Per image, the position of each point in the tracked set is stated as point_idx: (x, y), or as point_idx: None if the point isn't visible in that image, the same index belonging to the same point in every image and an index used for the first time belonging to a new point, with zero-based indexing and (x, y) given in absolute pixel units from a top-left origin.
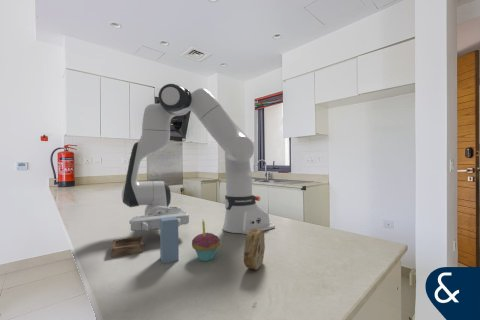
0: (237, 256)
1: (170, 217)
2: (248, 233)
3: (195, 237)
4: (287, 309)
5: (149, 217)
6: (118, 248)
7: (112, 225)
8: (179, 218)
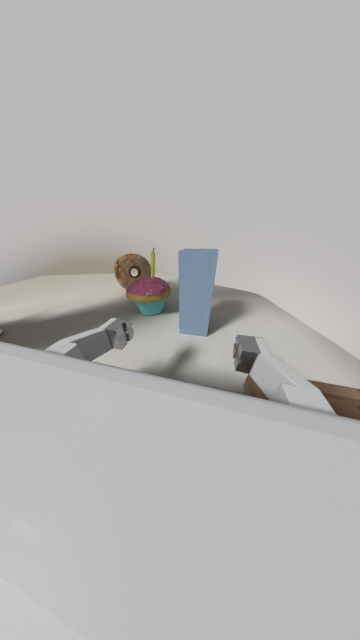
0: (126, 300)
1: (193, 250)
2: (139, 256)
3: (160, 284)
4: (167, 276)
5: (306, 565)
6: (339, 386)
7: None
8: (63, 342)
